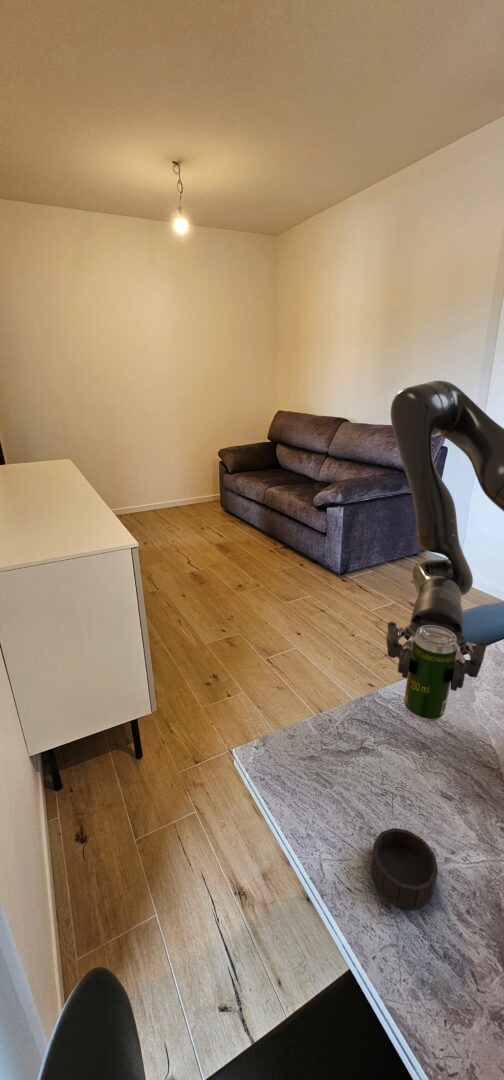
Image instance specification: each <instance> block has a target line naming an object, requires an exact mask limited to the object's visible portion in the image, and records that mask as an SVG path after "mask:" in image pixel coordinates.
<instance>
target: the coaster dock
mask: <svg viewBox="0 0 504 1080" xmlns="http://www.w3.org/2000/svg"><path fill="white" fill-rule="evenodd" d="M438 872H439V869H438V863H437V858H436V855H435V853H434V852H433V849H431V847H430V846H429V844H428V843H427V842H426V840H425V839H423V838H422V837H420V836H419V835H417V834H416V833H414V832H413V831H411V830H408V829H403V828H398V827H392V828H389V829H386V830H384V831H381V832H380V833H379V834H378V836H377V838H375V841H374V842H373V846H372V853H371V859H370V876H371V879H372V882H373V884H374V887H375V888H376V890H377V891H378V892H379V894H380V895H381V896H382V897H383V898H384V899H385V900H386V901H387V902H389V903H391V904H392V905H394V906H396V907H398V908H400V909H404V910H410V911H411V910H412V911H414V910H419V909H422V908H424V907H425V906H426V905H428V904H429V903H430V901H431V900H432V898H433V896H434V892H435V887H436V883H437V879H438V874H439V873H438Z"/></svg>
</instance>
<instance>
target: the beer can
mask: <svg viewBox="0 0 504 1080" xmlns="http://www.w3.org/2000/svg"><path fill="white" fill-rule="evenodd" d="M457 648H458V646H457V637H456V636H455V634H454V633H453V632H451V631H450V630H448V629H446V628H443V627H440V626H435V625H425V626H421V627H419V628H418V629H417V632H416V634H415V636H414V639H413V645H412V652H411V660H410V666H409V672H408V677H407V678H406V684H405V692H404V697H403V703H404V706H405V709H406V711H407V712H408V714H409V715H410V716H412V717H414V718H415V719H417V720H420V721H423V722H436V721H438V720H440V719H441V718H442V717H443V716H444V714H445V712H446V708H447V705H448V704H447V703H448V698H449V693H450V688H451V677H452V672H453V667H454V663H455V658H456V653H457Z"/></svg>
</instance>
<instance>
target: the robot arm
mask: <svg viewBox="0 0 504 1080" xmlns="http://www.w3.org/2000/svg"><path fill="white" fill-rule="evenodd" d="M390 421H391V427H392V432H393V435H394V439H395V443H396V445H397V448H398V453H399V455H400V459H401V462H402V467H403V470H404V473H405V476H406V479H407V483H408V487H409V491H410V494H411V498H412V504H413V510H414V518H415V527H416V534H417V535H416V537H417V543H418V546H419V548H420V549H421V550H423V551H425V552H429V553H433V554H434V553H435V554H439V555H442V556H444V557H446V558H441V559H440V558H439V559H425V560H424V559H423V560H420V561H419V562H417V563H416V564H415V565H414V567H413V570H412V583H413V586H414V589H415V591H416V593H417V598H416V600H415V602H414V605H413V609H412V612H411V618H410V622H409V624H408V625H406V626H405V627H398V626H397V623H396V622H394V621H389V622H387V625H386V626H387V627H386V634H385V639H386V649H387V651H386V652H387V656H388V657H389V658H392V659H394V658H395V659H396V658H397V659H398V665H397V672H398V673H399V674H401V678H403V679H407V678H408V672H409V666H410V660H411V652H412V645H413V639H414V636H415V634H416V632H417V629H418V628H419V627H421V626H425V625H435V626H440V627H443V628H446V629H448V630H450V631H451V632H453V633H454V634H455V636H456V637H457V646H458V648H457V653H456V658H455V663H454V667H453V672H452V677H451V684H450V689H449V691H454V692H457V691H458V689H462V688H463V687H464V682H465V677H466V675H467V676H469V677H470V678H477V677H478V675H479V673H480V670H481V667H482V665H483V662H484V658H485V655H486V650H487V646H488V643H487V642H485V641H483V640H478V641H477V642H476V643H473V642H469V641H467V639H466V637H465V636H464V635H463V626H464V624H463V622H464V621H463V619H464V618H463V617H464V612H463V606H462V596H465V595H467V594H468V593H469V592H470V591H471V589H472V587H473V585H474V577H473V572H472V570H471V568H470V564H469V563H468V561H467V558H466V557H465V554H464V552H463V549H462V546H461V543H460V538H459V532H458V531H459V530H458V520H457V510H456V505H455V501H454V499H453V496H452V493H451V491H450V489H448V487H447V485H446V484H445V482H444V481H443V478H441V476H440V474H439V472H438V470H437V468H436V466H435V462H434V458H433V453H432V438H433V437H436V436H441V437H443V438H444V439H446V440H448V441H449V442H451V443H452V444H453V445H454V446H456V447H457V448H458V449H459V450H461V451H462V452H463V453H464V455H465V456H467V458H468V460H469V461H470V463H471V465H472V468H473V471H474V473H475V477H476V480H477V482H478V484H479V486H480V489H481V490H482V491H483V493H484V495H485V496H486V497H487V498H488V499H489V500H490V501H491V502H492V503H493V504H494V505H495V506H496V507H498V508H499V509H500V510H501V511H502V512H504V427H502V426H501V425H500V424H498V423H497V422H496V421H495V420H494V419H492V418H491V417H490V416H489V415H488V414H487V413H485V412H484V410H482V409H481V407H479V406H478V404H477V403H475V402H474V401H473V400H472V399H471V398H470V397H469V396H468V395H467V394H466V393H465V392H464V391H463V390H461V388H459V387H458V386H456V385H455V384H453V383H451V382H449V381H446V380H433V381H428V382H425V383H424V382H423V383H421V384H415V385H412V386H408V387H406V388H403V389H401V390H400V391H398V393H397V394H395V396H394V397H393V399H392V402H391V404H390ZM403 637H404V639H405V640H406V641H405V642H404V643H403V644H401V643H399V642H400V641H399V640H401V638H403ZM464 651H465V652H466V653H467V654H468V656H469V659H466V658H465V656H464V655H463V652H464Z"/></svg>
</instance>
